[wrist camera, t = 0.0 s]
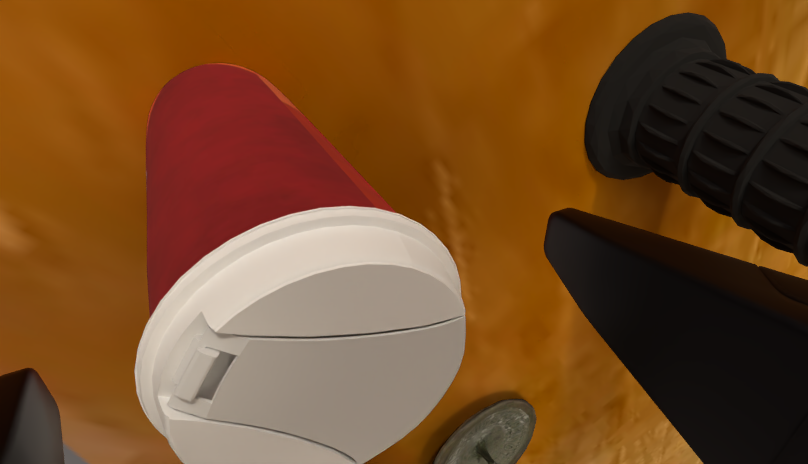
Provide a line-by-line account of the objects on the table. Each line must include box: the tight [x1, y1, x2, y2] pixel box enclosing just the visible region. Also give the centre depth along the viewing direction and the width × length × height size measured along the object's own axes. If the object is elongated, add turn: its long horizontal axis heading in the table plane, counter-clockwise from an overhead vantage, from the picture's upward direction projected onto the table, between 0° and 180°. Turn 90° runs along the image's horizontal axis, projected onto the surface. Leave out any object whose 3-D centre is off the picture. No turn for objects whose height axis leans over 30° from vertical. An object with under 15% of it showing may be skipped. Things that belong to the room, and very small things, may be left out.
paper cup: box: [135, 63, 466, 464], centre depth 17 cm, size 8×8×14 cm
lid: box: [433, 399, 536, 464], centre depth 43 cm, size 11×10×5 cm
